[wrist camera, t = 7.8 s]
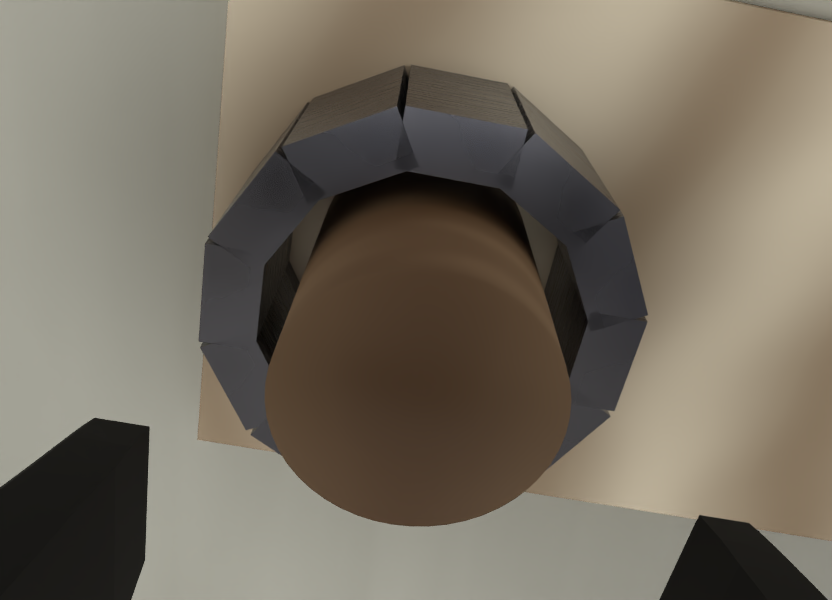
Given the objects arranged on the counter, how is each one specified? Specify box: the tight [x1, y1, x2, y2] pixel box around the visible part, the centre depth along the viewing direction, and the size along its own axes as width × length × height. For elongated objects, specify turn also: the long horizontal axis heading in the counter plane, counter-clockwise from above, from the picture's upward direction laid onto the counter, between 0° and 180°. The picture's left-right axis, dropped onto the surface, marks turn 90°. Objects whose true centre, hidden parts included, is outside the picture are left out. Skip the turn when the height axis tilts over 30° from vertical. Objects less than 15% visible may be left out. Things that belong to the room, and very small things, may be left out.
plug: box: [265, 171, 571, 526], centre depth 14 cm, size 4×4×6 cm
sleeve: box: [199, 65, 648, 470], centre depth 15 cm, size 8×8×4 cm
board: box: [197, 0, 832, 541], centre depth 17 cm, size 18×12×1 cm, turn 79°
